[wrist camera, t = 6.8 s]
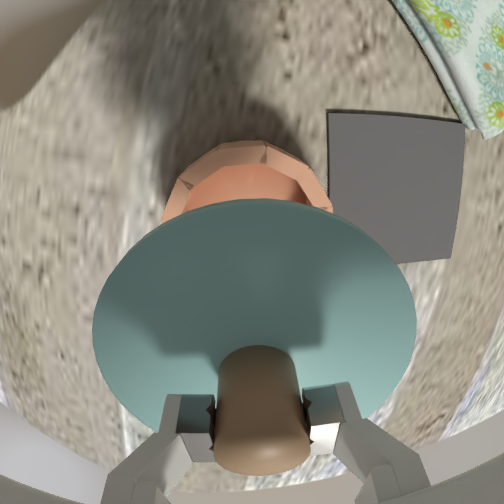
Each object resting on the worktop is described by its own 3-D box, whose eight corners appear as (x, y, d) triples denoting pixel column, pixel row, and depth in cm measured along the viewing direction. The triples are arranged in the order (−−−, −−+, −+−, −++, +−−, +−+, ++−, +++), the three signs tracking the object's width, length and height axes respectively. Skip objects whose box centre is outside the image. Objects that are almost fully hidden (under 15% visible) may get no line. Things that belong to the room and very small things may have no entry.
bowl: (168, 148, 25) (151, 156, 20) (316, 137, 25) (332, 143, 20) (187, 278, 30) (178, 308, 25) (316, 268, 30) (328, 298, 25)
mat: (327, 113, 24) (328, 113, 23) (462, 123, 24) (465, 124, 23) (326, 268, 30) (327, 270, 29) (448, 256, 30) (450, 258, 29)
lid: (60, 222, 10) (-20, 282, 5) (426, 188, 9) (514, 233, 5) (150, 444, 14) (136, 512, 10) (380, 425, 14) (405, 491, 10)
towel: (464, 142, 24) (498, 151, 19) (341, -51, 17) (359, -77, 12) (546, 80, 20) (576, 83, 16) (456, -76, 13) (480, -91, 8)
